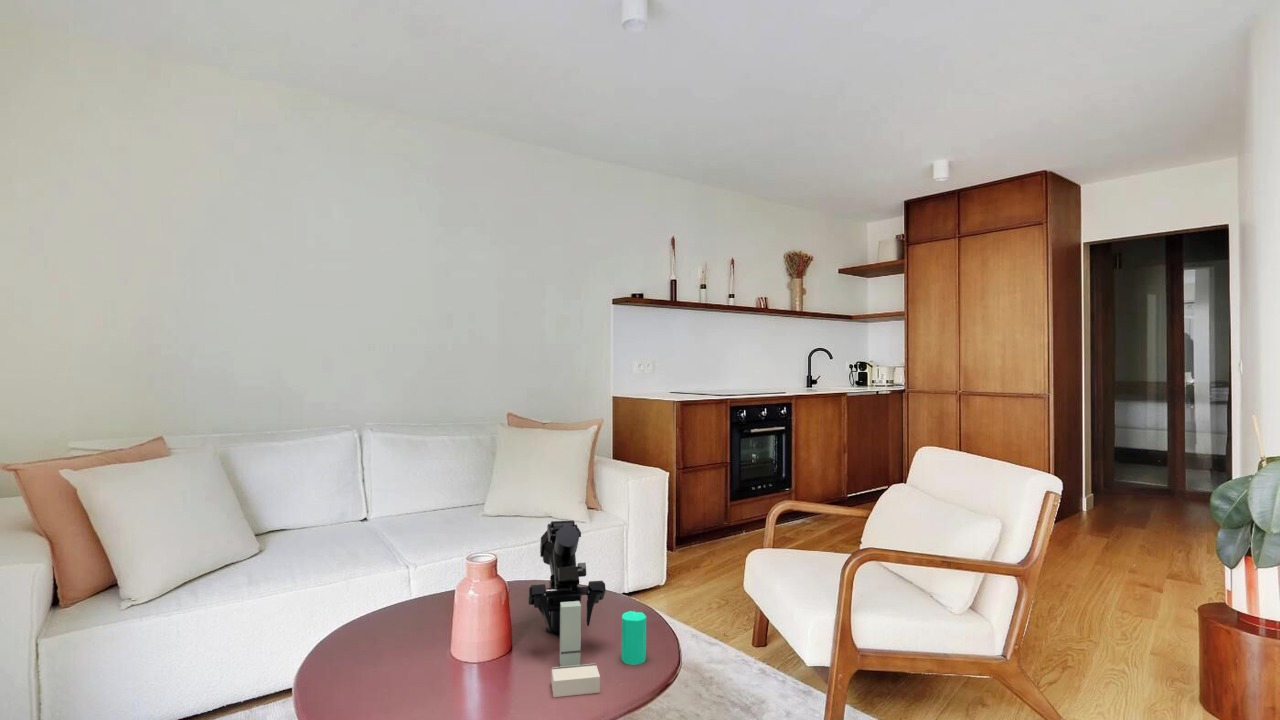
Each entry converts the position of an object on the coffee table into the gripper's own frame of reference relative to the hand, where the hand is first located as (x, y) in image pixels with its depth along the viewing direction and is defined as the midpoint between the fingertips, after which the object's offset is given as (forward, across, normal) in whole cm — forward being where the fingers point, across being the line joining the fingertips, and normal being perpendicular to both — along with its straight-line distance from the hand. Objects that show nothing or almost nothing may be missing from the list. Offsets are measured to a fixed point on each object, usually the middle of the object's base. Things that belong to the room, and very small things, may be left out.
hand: (569, 627), depth 156 cm
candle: (+8, +15, +4) cm, 18 cm away
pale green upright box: (+7, 0, +4) cm, 8 cm away
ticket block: (+15, 0, -4) cm, 15 cm away
